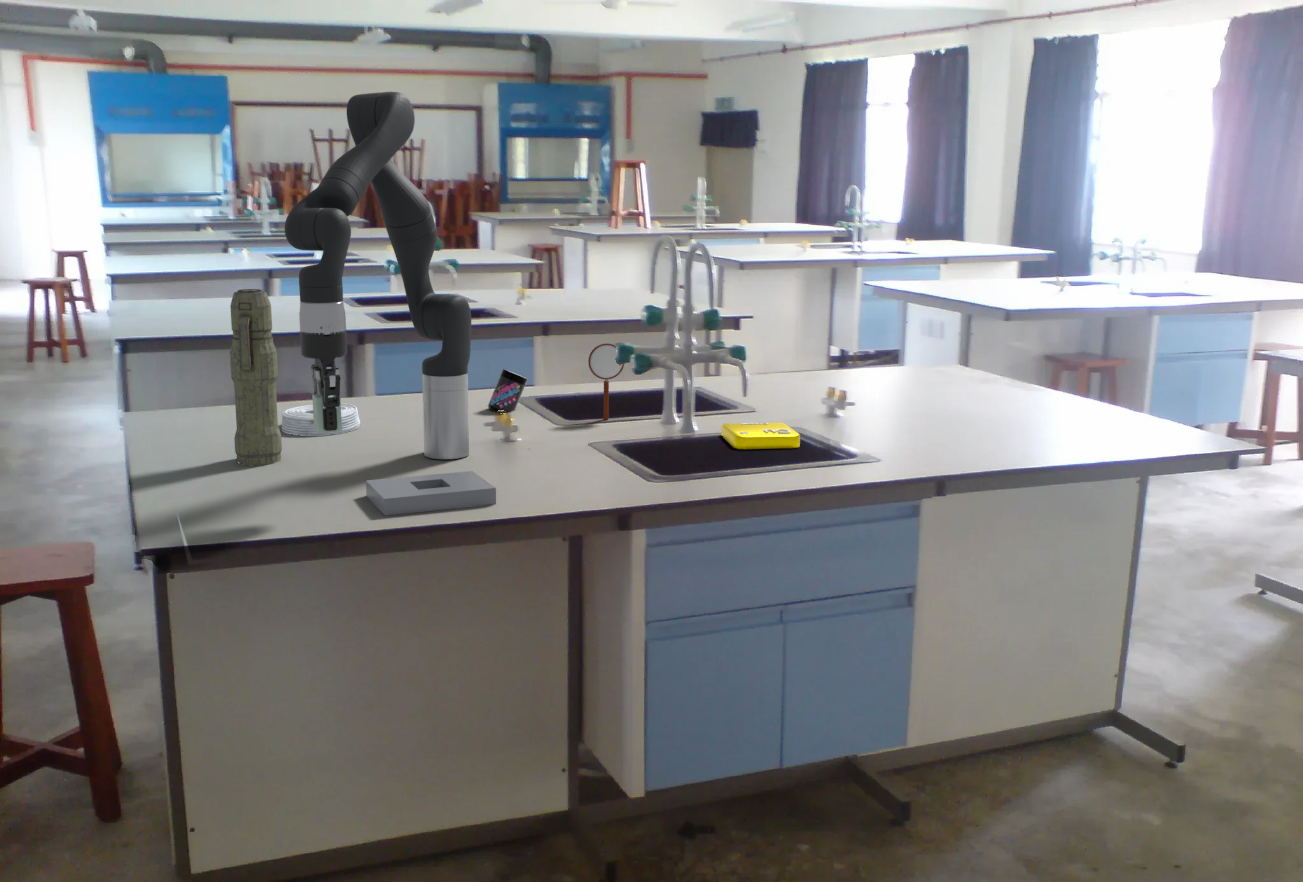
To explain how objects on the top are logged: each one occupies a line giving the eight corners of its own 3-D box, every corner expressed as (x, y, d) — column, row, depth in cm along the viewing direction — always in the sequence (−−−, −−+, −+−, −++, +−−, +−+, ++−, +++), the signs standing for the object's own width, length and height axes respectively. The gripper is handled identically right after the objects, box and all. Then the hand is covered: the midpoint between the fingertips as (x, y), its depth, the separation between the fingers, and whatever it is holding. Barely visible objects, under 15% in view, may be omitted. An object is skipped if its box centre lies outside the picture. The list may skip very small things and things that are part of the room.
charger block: (314, 428, 202) (312, 394, 201) (337, 426, 204) (335, 392, 203) (318, 433, 199) (316, 398, 197) (342, 431, 200) (340, 396, 199)
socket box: (366, 496, 213) (365, 480, 213) (472, 486, 222) (472, 470, 221) (384, 515, 201) (384, 498, 200) (496, 504, 209) (495, 487, 209)
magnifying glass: (623, 425, 282) (624, 342, 278) (624, 426, 281) (625, 343, 276) (587, 425, 281) (587, 343, 277) (588, 427, 279) (589, 343, 275)
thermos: (231, 471, 230) (220, 292, 223) (241, 457, 242) (231, 287, 234) (277, 470, 232) (268, 292, 225) (285, 456, 243) (277, 287, 236)
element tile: (782, 440, 270) (783, 420, 269) (801, 454, 256) (802, 433, 255) (719, 441, 268) (719, 421, 267) (735, 456, 253) (736, 434, 252)
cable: (371, 428, 275) (370, 403, 274) (345, 443, 258) (343, 417, 257) (299, 425, 276) (298, 400, 275) (268, 441, 259) (267, 414, 258)
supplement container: (481, 405, 289) (497, 366, 289) (500, 411, 294) (516, 373, 294) (498, 413, 285) (514, 373, 284) (517, 420, 290) (533, 381, 290)
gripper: (293, 324, 202) (299, 421, 206) (307, 334, 190) (312, 437, 193) (337, 322, 205) (342, 418, 209) (354, 332, 193) (358, 434, 197)
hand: (328, 427), depth 201 cm, fingers closed on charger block, 4 cm apart
